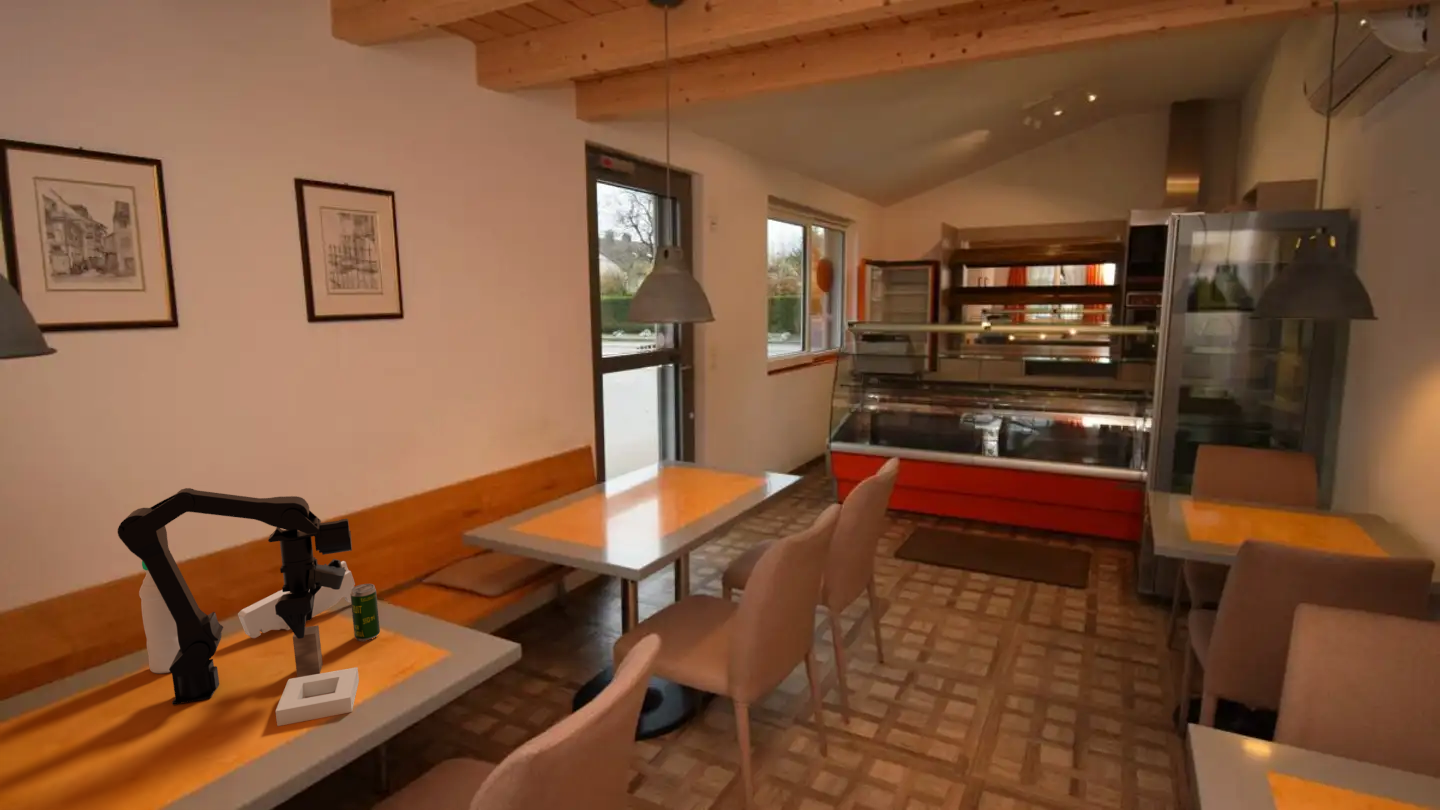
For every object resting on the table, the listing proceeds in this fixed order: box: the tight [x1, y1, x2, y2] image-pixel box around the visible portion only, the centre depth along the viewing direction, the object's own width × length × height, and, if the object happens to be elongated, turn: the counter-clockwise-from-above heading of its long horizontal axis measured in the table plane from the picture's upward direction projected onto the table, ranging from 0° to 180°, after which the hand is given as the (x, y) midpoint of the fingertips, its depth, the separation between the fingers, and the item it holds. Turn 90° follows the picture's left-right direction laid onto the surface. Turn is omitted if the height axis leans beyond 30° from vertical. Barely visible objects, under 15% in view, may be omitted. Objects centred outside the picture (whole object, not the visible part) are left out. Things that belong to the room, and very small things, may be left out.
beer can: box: [350, 583, 381, 642], centre depth 172 cm, size 5×5×12 cm
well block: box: [275, 666, 360, 727], centre depth 144 cm, size 12×12×3 cm
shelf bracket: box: [237, 560, 356, 639], centre depth 181 cm, size 6×25×13 cm, turn 143°
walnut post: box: [292, 625, 324, 678], centre depth 157 cm, size 4×4×9 cm
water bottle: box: [138, 560, 180, 674], centre depth 158 cm, size 7×7×25 cm
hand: (304, 628), depth 156 cm, fingers open, 9 cm apart
